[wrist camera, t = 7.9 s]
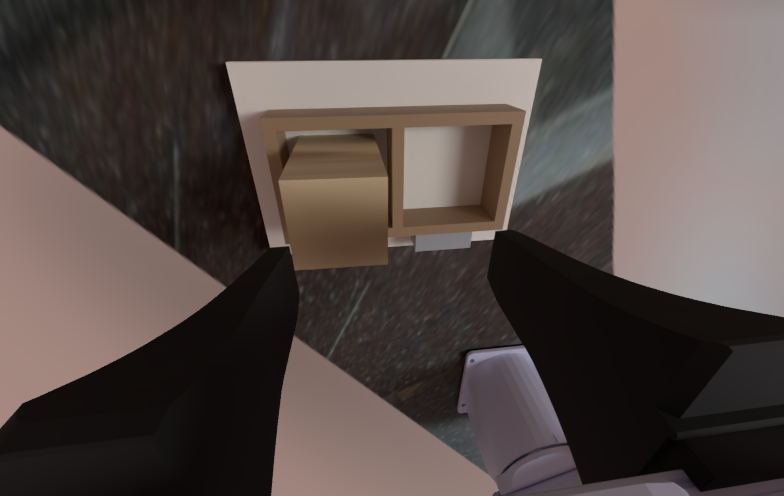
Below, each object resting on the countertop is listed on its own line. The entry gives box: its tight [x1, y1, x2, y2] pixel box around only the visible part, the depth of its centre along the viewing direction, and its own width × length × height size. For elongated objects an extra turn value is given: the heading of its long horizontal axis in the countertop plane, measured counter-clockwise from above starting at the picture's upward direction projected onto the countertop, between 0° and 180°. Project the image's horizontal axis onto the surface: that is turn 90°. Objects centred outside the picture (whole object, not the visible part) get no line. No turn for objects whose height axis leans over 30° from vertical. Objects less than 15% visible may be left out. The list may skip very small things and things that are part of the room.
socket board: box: [226, 58, 542, 254], centre depth 19 cm, size 11×16×3 cm
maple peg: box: [278, 134, 388, 270], centre depth 16 cm, size 4×4×7 cm
